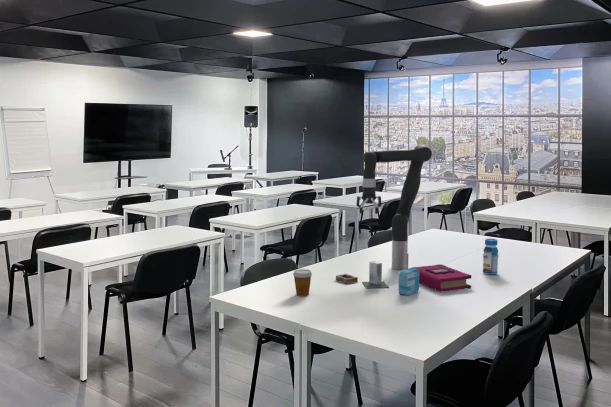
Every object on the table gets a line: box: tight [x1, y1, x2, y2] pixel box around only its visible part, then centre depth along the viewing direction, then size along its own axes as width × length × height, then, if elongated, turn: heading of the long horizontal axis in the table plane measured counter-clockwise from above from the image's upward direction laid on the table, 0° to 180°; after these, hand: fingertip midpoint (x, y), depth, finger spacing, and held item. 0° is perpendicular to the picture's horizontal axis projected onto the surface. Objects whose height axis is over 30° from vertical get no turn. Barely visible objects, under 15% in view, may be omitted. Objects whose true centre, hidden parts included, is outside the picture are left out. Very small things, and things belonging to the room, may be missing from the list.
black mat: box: [362, 280, 390, 290], centre depth 297 cm, size 12×12×1 cm
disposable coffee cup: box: [293, 268, 313, 297], centre depth 280 cm, size 10×10×12 cm
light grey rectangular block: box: [368, 260, 383, 286], centre depth 296 cm, size 6×4×12 cm, turn 33°
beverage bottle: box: [482, 238, 499, 275], centre depth 320 cm, size 8×8×20 cm
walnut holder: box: [335, 273, 358, 285], centre depth 306 cm, size 10×7×2 cm
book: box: [411, 263, 472, 293], centre depth 300 cm, size 21×28×8 cm
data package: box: [398, 267, 420, 296], centre depth 282 cm, size 12×4×12 cm, turn 136°
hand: (368, 213), depth 324 cm, fingers open, 8 cm apart
